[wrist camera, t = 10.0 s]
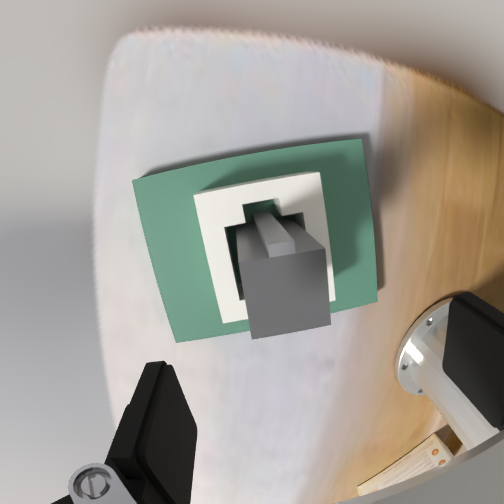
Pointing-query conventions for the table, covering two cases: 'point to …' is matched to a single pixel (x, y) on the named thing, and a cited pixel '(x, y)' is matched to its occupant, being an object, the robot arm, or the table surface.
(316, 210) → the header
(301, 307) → the plug
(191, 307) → the board
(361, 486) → the coffeecake box
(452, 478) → the robot arm
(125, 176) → the table surface
